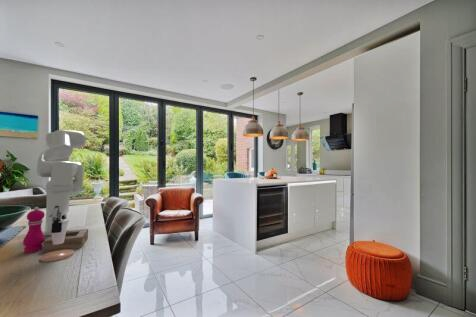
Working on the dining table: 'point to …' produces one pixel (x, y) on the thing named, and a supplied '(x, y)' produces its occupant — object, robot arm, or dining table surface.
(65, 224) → the smoothie
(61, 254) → the tan round disc
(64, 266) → the dining table surface
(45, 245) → the bottle holder
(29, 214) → the pepper mill
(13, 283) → the dining table surface
